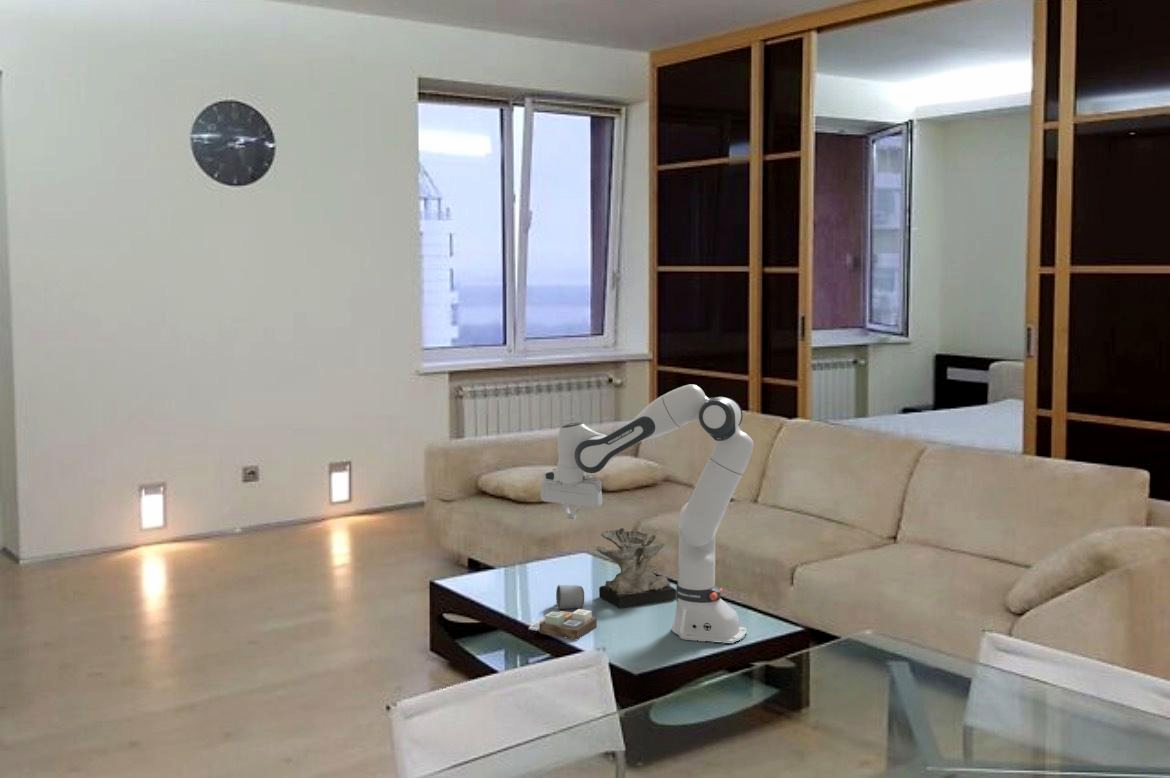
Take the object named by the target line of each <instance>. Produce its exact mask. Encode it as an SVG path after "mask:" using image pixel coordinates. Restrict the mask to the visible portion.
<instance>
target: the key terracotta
mask: <svg viewBox="0 0 1170 778" xmlns="http://www.w3.org/2000/svg"><path fill="white" fill-rule="evenodd" d="M558 612H559V613H564V614H565V620H569V619H570V618H572V613H573V612H570V611H563V610H561V611H558Z"/></svg>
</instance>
